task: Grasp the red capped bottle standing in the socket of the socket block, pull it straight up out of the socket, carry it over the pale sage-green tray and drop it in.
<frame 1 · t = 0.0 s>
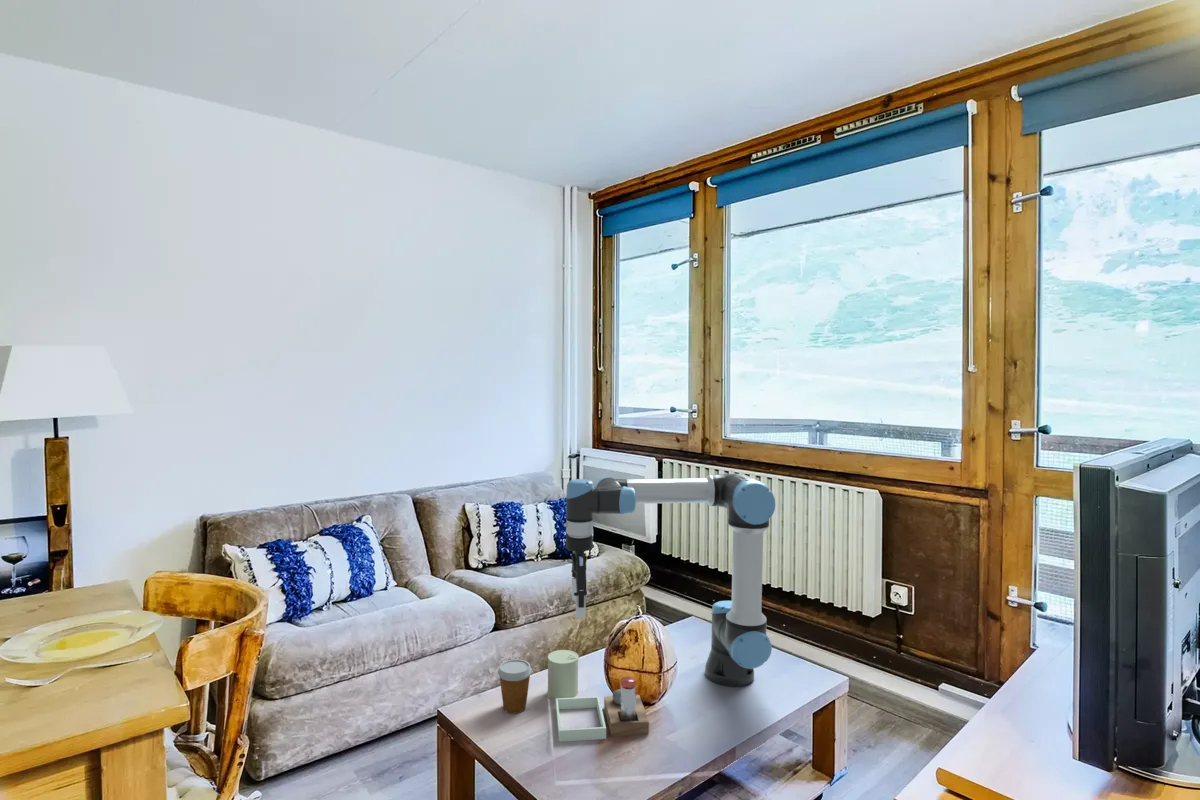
hand: (578, 608, 183), 28 cm above the table, fingers open, 13 cm apart
tray: (579, 725, 174), on the table
can: (562, 695, 190), on the table
disposable coffee cup: (514, 708, 183), on the table
socket block: (625, 723, 175), on the table
red capped bottle: (627, 727, 172), point 1 cm above the table, touching socket block
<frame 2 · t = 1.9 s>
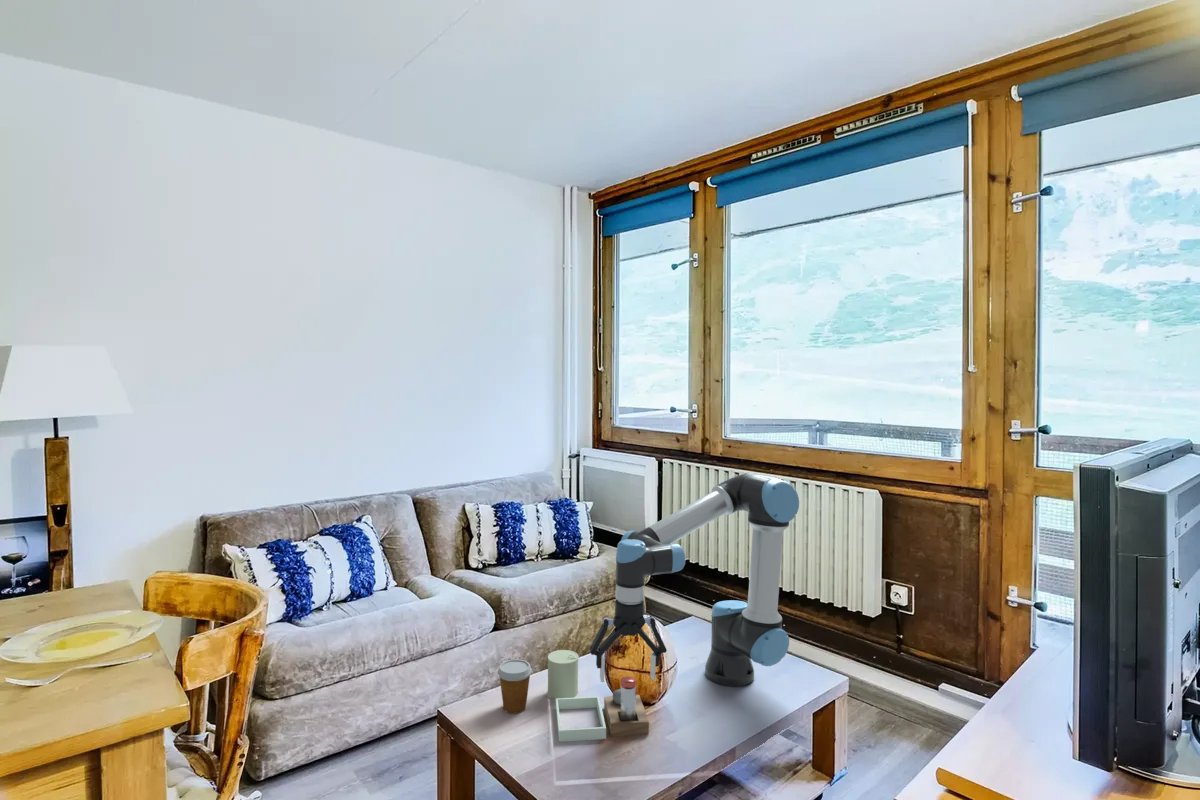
hand: (627, 678, 171), 14 cm above the table, fingers open, 13 cm apart
nothing on the table moved.
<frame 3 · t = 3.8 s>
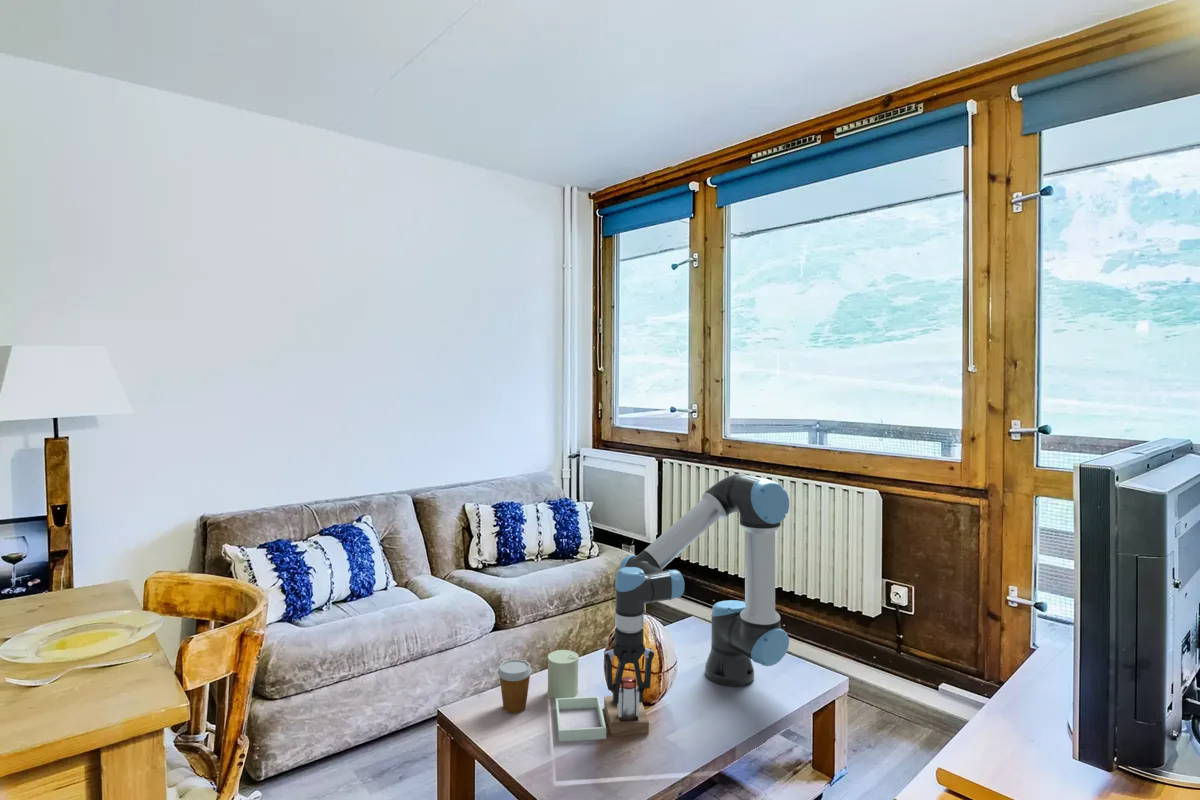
hand: (628, 713, 171), 5 cm above the table, fingers closed on red capped bottle, 4 cm apart
red capped bottle: (627, 727, 172), point 1 cm above the table, touching gripper, socket block
everything else where it was.
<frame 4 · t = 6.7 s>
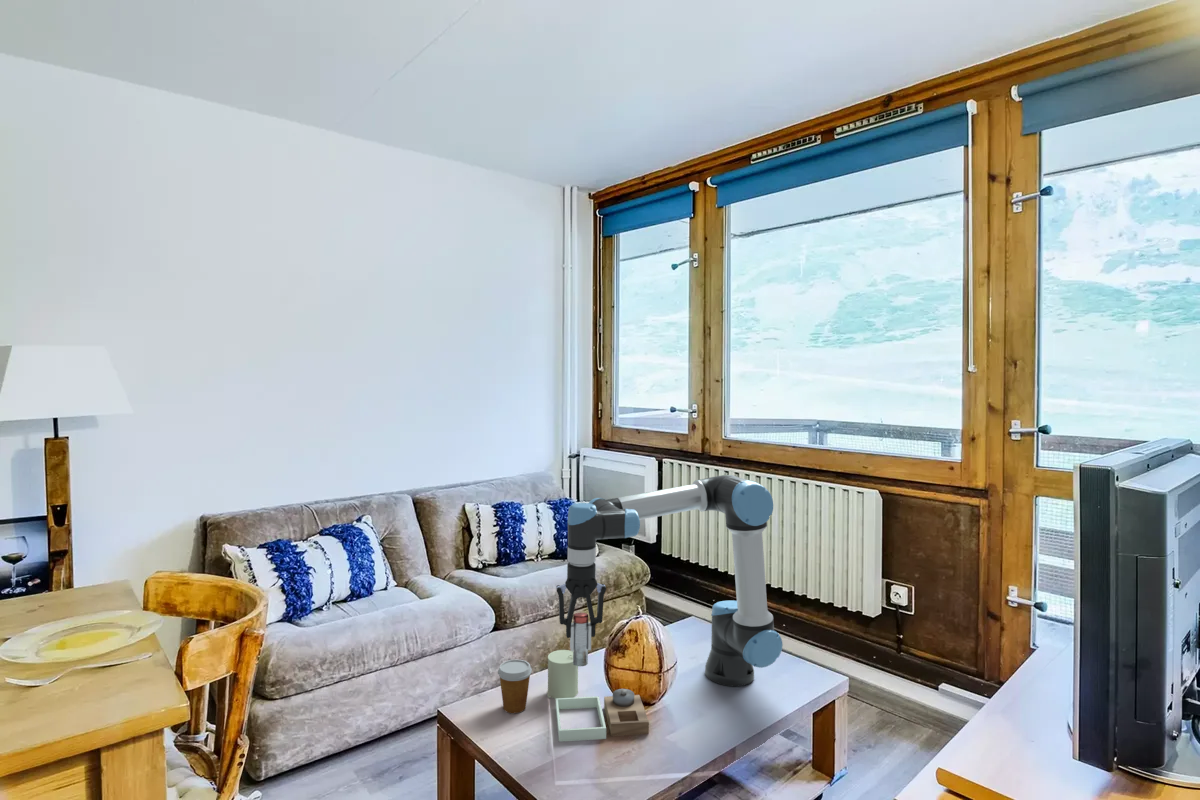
hand: (580, 648, 173), 21 cm above the table, fingers closed on red capped bottle, 4 cm apart
red capped bottle: (580, 662, 173), point 17 cm above the table, touching gripper
everything else where it was.
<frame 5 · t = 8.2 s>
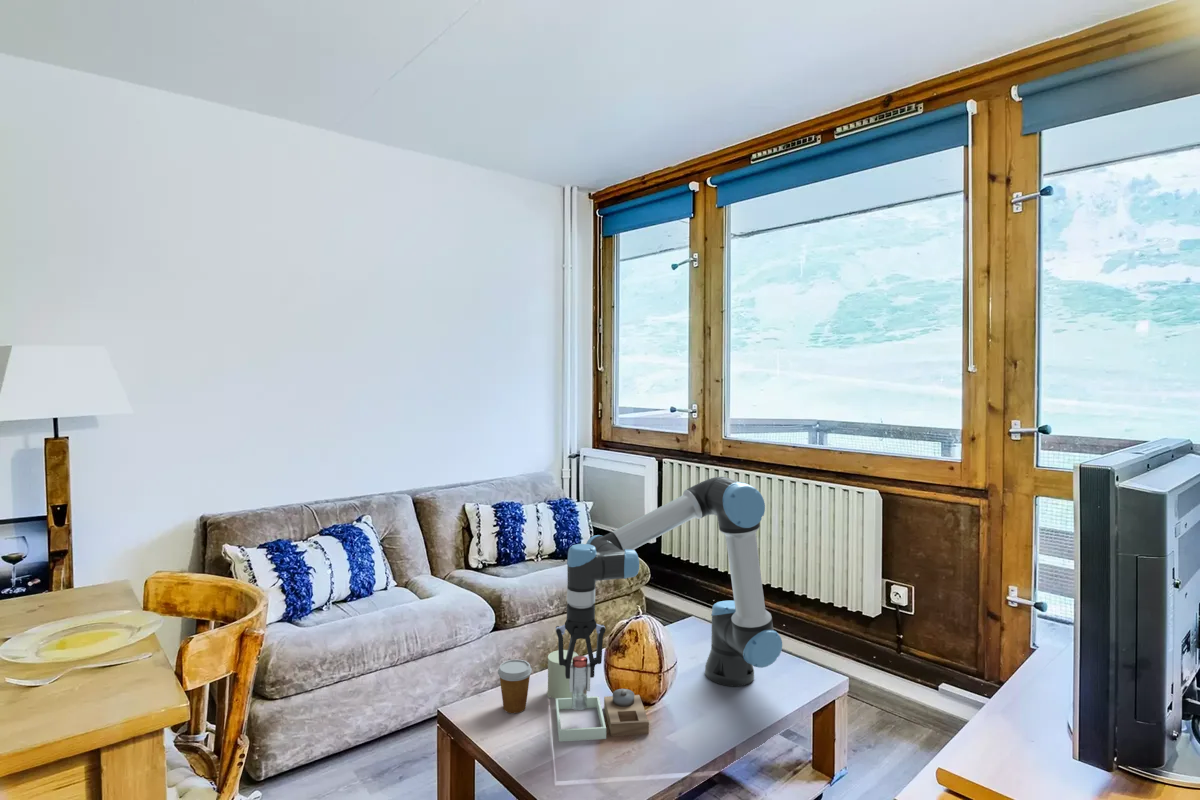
hand: (579, 688, 173), 10 cm above the table, fingers closed on red capped bottle, 4 cm apart
red capped bottle: (579, 706, 174), point 5 cm above the table, touching gripper
everything else where it was.
when the fingers open (7 cm above the table, at t = 9.5 s): red capped bottle drops 1 cm, resting on tray.
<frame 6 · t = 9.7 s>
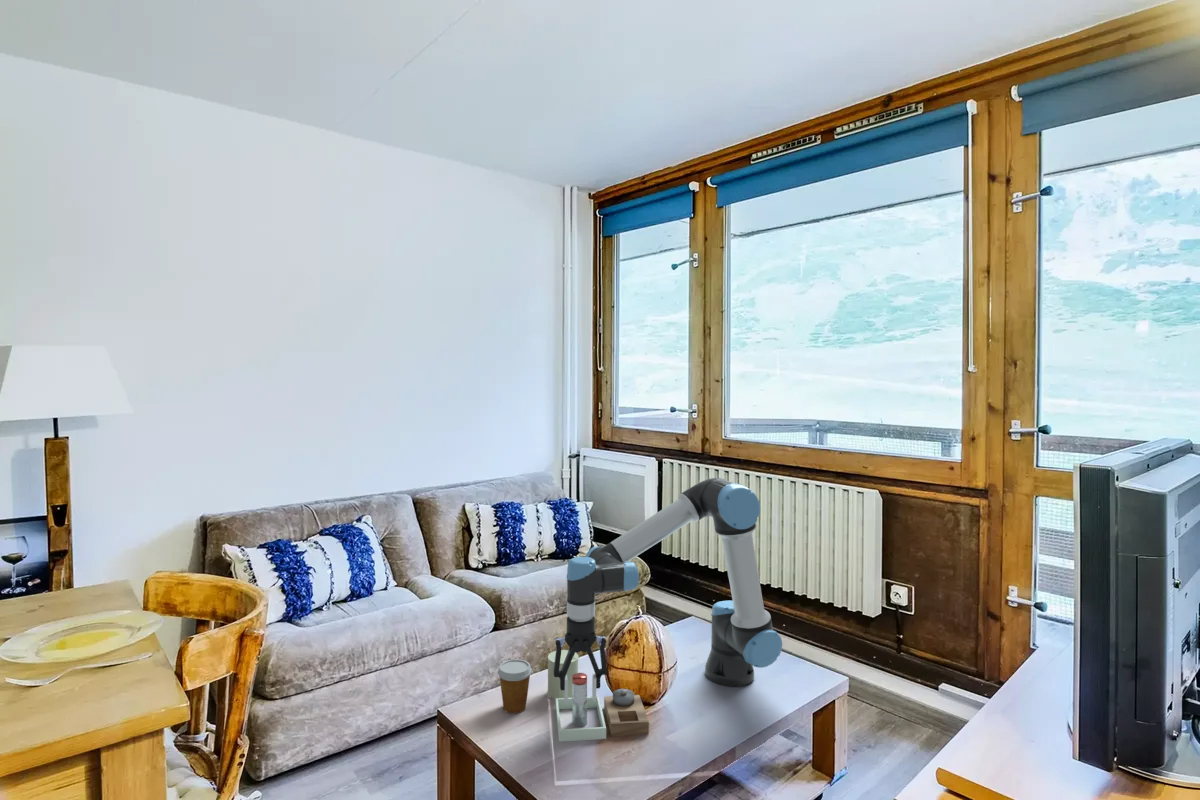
hand: (580, 700, 174), 7 cm above the table, fingers open, 7 cm apart
red capped bottle: (579, 723, 174), point 1 cm above the table, touching tray
everything else where it was.
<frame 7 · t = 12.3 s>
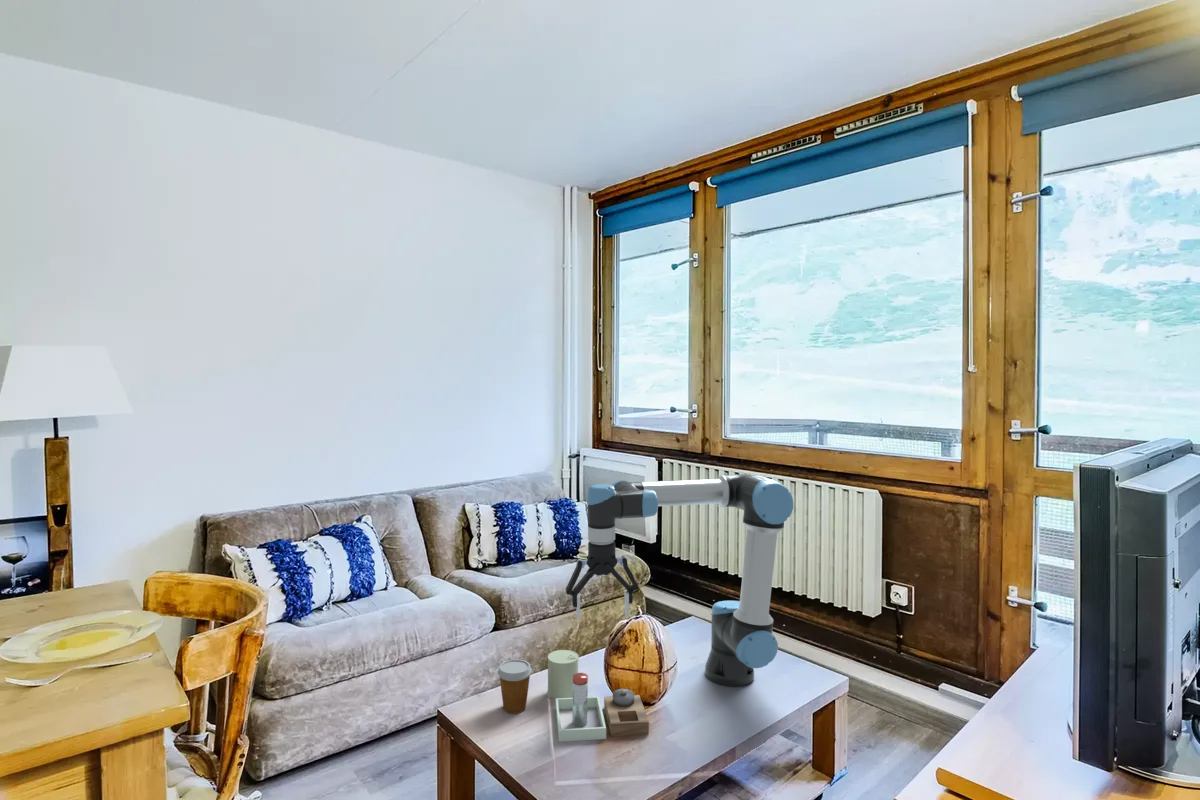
hand: (602, 616, 179), 27 cm above the table, fingers open, 13 cm apart
nothing on the table moved.
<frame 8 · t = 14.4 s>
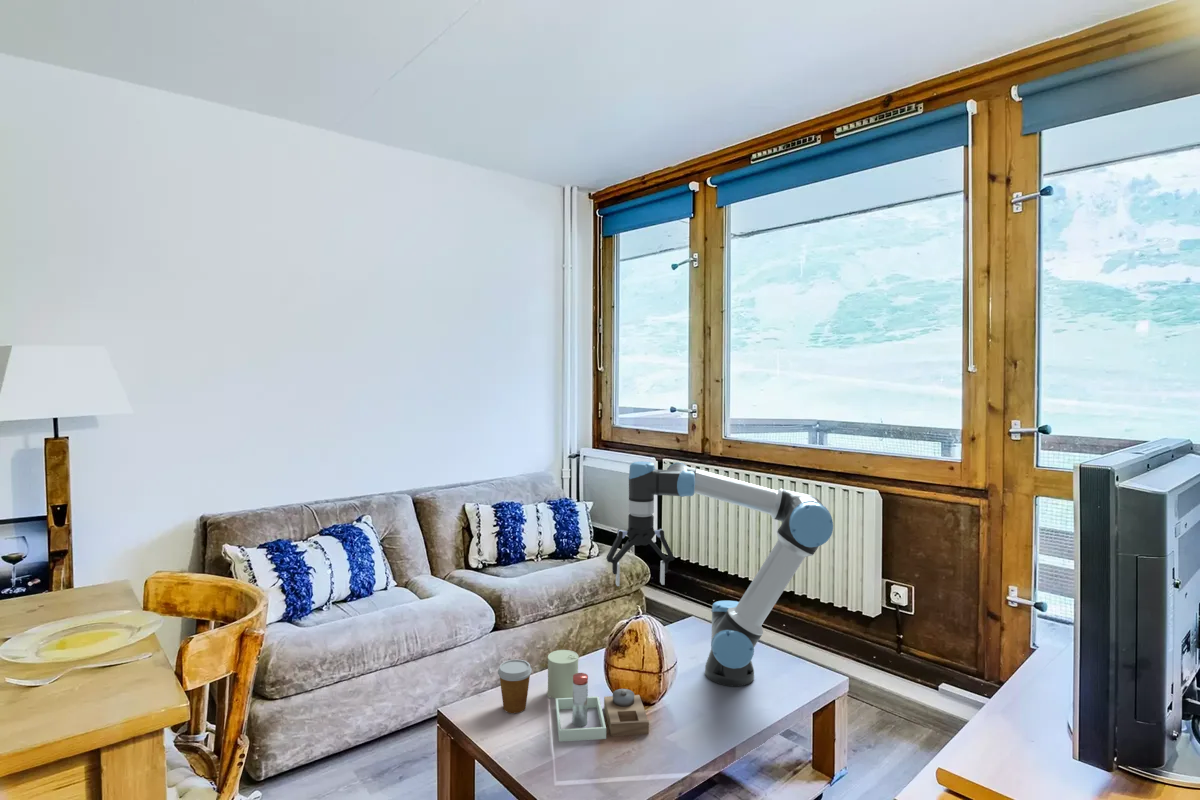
hand: (640, 584, 193), 32 cm above the table, fingers open, 13 cm apart
nothing on the table moved.
at the end: red capped bottle inside the target area on the tray (0.0 cm from its centre), point 0.6 cm above the tray's base; the gripper is holding nothing; red capped bottle touching tray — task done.
